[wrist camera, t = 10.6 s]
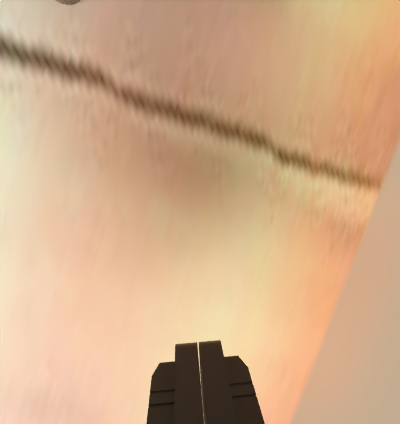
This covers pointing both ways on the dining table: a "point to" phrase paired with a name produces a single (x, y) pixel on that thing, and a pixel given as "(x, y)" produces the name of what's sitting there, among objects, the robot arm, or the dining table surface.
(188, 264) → the dining table surface
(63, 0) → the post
